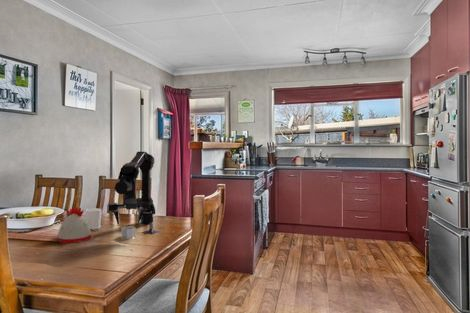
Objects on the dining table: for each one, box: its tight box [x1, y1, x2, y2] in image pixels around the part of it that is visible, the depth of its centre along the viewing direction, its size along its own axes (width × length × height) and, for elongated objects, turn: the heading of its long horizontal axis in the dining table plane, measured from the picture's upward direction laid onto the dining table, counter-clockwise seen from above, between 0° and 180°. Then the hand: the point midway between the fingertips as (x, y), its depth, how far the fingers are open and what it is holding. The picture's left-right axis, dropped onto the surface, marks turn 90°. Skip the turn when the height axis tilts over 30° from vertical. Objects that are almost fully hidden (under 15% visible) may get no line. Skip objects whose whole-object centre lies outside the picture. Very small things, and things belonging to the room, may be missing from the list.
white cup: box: [85, 208, 103, 231], centre depth 162 cm, size 8×8×10 cm
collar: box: [120, 225, 136, 240], centre depth 144 cm, size 6×6×4 cm
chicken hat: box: [57, 206, 92, 244], centre depth 143 cm, size 14×14×15 cm
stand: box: [140, 222, 161, 236], centre depth 154 cm, size 7×7×6 cm
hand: (128, 223), depth 144 cm, fingers open, 9 cm apart
